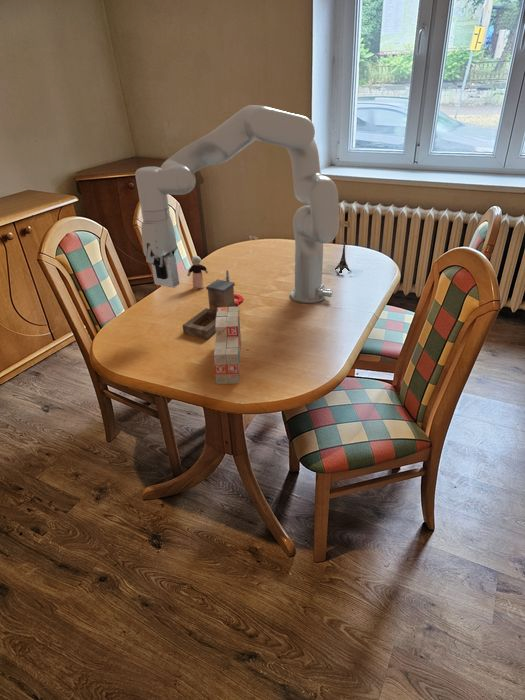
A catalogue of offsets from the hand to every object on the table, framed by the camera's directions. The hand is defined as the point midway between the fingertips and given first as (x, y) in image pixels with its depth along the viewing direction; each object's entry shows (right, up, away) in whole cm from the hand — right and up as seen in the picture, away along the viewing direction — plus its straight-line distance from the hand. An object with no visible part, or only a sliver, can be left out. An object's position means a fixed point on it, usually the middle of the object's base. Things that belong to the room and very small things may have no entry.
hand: (165, 275), depth 137 cm
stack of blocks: (+20, -26, -8) cm, 34 cm away
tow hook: (+18, -5, +25) cm, 31 cm away
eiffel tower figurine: (+61, +9, +47) cm, 77 cm away
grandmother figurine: (+5, +1, +36) cm, 36 cm away
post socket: (+13, -14, +11) cm, 22 cm away
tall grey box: (0, -2, +1) cm, 3 cm away
